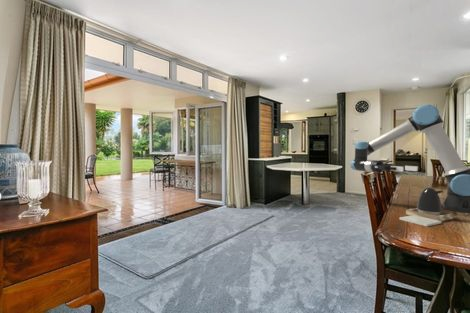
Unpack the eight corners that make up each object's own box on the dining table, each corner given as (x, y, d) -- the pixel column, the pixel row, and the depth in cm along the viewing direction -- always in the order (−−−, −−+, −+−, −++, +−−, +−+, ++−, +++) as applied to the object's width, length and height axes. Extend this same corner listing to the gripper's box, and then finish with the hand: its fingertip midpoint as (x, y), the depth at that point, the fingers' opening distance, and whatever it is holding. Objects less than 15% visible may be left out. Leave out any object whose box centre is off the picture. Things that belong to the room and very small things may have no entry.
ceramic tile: (413, 217, 127) (413, 215, 127) (441, 223, 116) (441, 221, 116) (399, 219, 122) (399, 217, 122) (426, 226, 111) (426, 224, 111)
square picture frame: (421, 211, 139) (421, 207, 138) (453, 218, 125) (453, 213, 125) (405, 214, 132) (406, 209, 132) (437, 221, 119) (437, 216, 119)
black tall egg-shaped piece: (439, 220, 122) (441, 189, 121) (414, 215, 129) (415, 187, 129) (443, 217, 128) (444, 188, 128) (419, 212, 136) (420, 185, 136)
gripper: (386, 171, 162) (422, 175, 143) (360, 172, 151) (396, 176, 132) (386, 160, 162) (423, 162, 142) (361, 160, 151) (397, 162, 132)
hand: (410, 169), depth 137 cm, fingers open, 13 cm apart
